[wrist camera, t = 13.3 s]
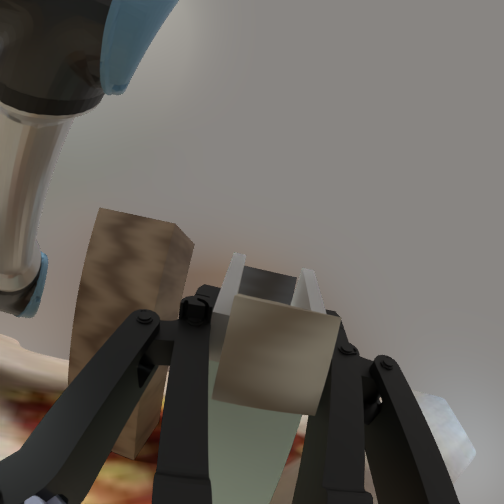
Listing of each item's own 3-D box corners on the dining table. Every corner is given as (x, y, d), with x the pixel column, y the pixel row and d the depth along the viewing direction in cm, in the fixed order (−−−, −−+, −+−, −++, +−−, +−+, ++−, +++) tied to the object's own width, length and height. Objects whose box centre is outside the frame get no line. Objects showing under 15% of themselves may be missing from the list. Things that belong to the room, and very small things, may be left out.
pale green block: (154, 516, 16) (179, 342, 19) (176, 460, 28) (202, 324, 31) (254, 534, 16) (315, 370, 19) (250, 475, 28) (288, 342, 31)
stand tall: (68, 430, 25) (99, 207, 29) (105, 401, 37) (136, 230, 42) (133, 460, 25) (175, 223, 29) (159, 421, 37) (194, 244, 42)
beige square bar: (173, 389, 8) (214, 209, 9) (220, 321, 30) (232, 268, 31) (347, 417, 8) (385, 251, 9) (274, 333, 30) (286, 280, 31)
